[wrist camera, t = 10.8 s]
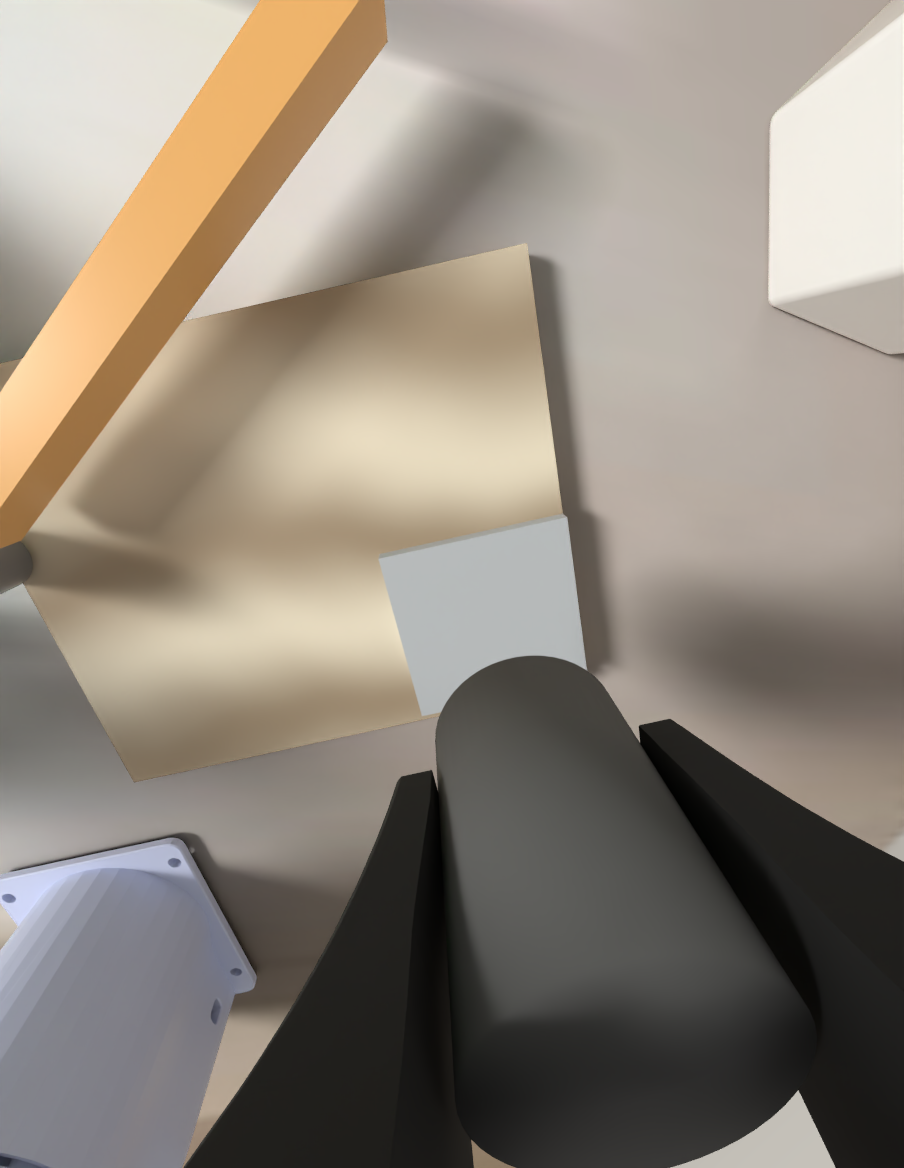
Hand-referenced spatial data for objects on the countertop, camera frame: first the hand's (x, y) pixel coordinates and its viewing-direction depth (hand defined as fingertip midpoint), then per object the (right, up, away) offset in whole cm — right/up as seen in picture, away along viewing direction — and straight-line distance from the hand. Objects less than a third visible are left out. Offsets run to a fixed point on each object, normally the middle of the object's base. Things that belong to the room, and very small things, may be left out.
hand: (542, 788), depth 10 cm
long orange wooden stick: (-10, +10, +4) cm, 15 cm away
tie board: (-7, +5, +7) cm, 11 cm away
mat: (0, +3, +8) cm, 8 cm away
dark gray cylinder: (0, +1, +1) cm, 1 cm away
